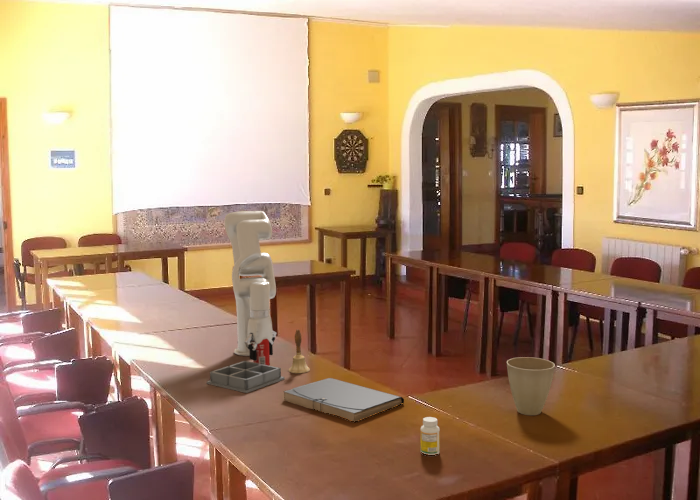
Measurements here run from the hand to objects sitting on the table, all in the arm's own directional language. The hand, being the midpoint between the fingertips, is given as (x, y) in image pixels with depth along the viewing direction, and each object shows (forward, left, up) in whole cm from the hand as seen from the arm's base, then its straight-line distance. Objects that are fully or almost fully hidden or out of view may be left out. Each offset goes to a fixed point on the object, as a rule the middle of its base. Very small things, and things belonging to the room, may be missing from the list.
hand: (261, 357), depth 300 cm
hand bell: (-5, +15, -4) cm, 16 cm away
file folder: (+16, +52, -5) cm, 55 cm away
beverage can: (0, 0, -4) cm, 4 cm away
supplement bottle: (+37, +98, -4) cm, 105 cm away
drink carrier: (+17, +8, -4) cm, 19 cm away
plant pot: (-10, +107, -4) cm, 108 cm away
